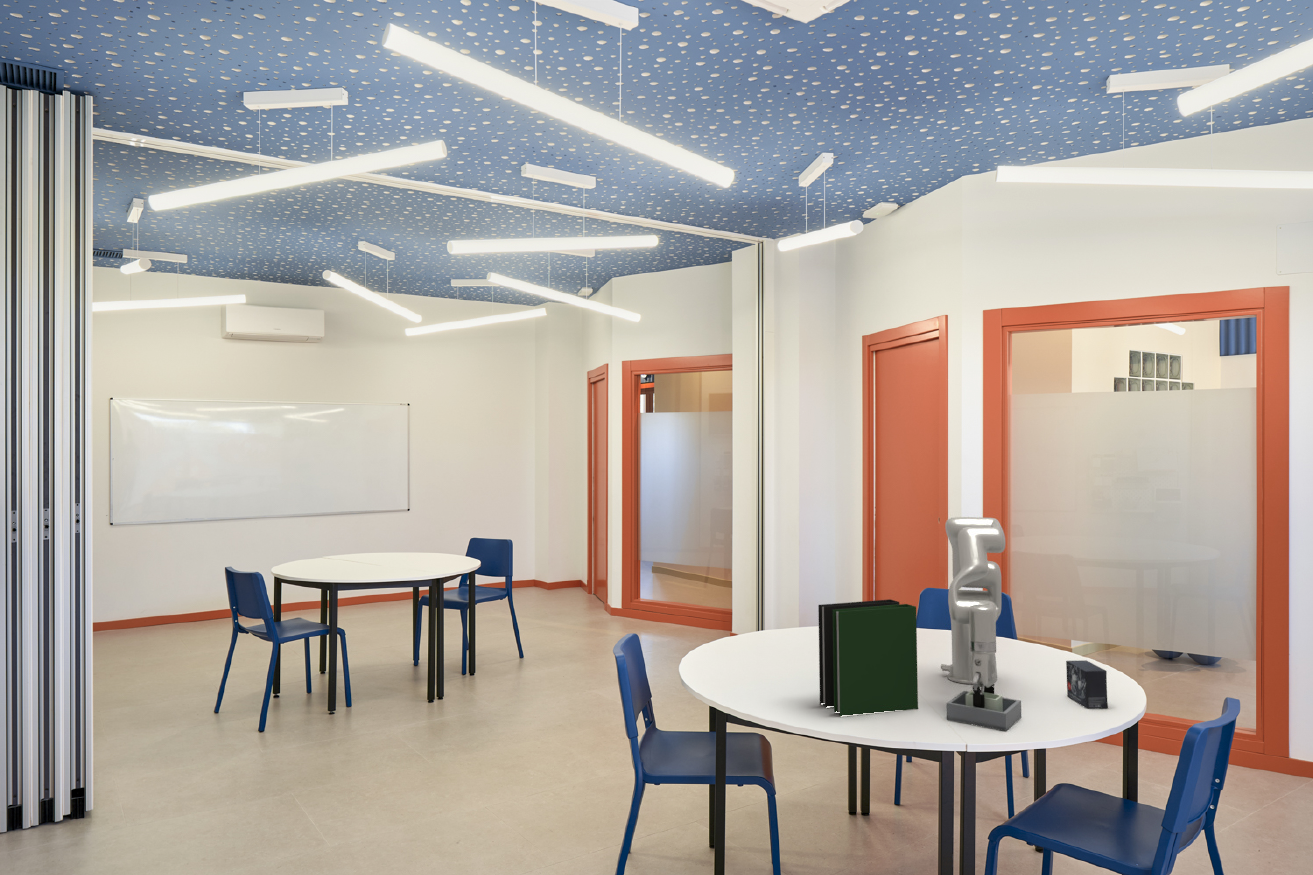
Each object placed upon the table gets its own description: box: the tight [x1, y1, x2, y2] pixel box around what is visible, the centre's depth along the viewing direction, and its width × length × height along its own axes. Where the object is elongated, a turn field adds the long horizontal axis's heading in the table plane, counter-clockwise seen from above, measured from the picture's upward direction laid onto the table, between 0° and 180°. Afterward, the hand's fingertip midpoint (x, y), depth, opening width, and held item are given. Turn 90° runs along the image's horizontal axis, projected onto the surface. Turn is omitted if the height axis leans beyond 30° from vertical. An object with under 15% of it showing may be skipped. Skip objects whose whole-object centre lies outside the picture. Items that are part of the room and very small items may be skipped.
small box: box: [1065, 659, 1109, 710], centre depth 257 cm, size 13×7×12 cm, turn 178°
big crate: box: [946, 690, 1022, 732], centre depth 242 cm, size 17×16×5 cm
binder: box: [817, 598, 919, 717], centre depth 255 cm, size 27×15×32 cm, turn 107°
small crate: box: [966, 689, 1003, 712], centre depth 242 cm, size 9×6×6 cm, turn 51°
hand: (983, 703), depth 242 cm, fingers open, 9 cm apart
